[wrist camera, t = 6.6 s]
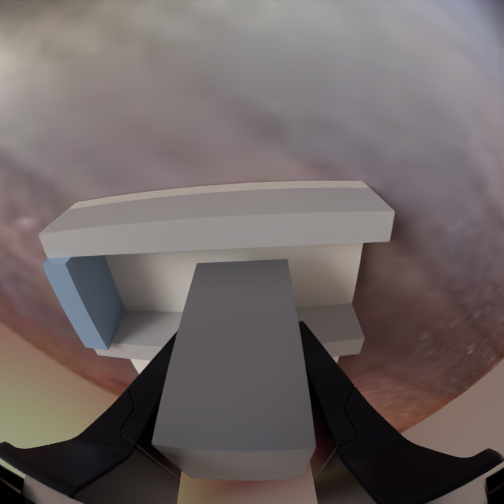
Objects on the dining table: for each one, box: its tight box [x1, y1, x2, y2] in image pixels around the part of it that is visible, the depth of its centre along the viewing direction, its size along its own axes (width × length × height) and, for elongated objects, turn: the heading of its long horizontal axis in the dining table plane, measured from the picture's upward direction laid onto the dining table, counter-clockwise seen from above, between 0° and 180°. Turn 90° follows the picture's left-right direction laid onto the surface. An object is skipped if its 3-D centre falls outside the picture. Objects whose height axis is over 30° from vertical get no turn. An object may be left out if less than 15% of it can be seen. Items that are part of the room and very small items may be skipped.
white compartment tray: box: [38, 181, 395, 375], centre depth 14 cm, size 14×14×4 cm
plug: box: [152, 259, 316, 481], centre depth 8 cm, size 3×3×7 cm
